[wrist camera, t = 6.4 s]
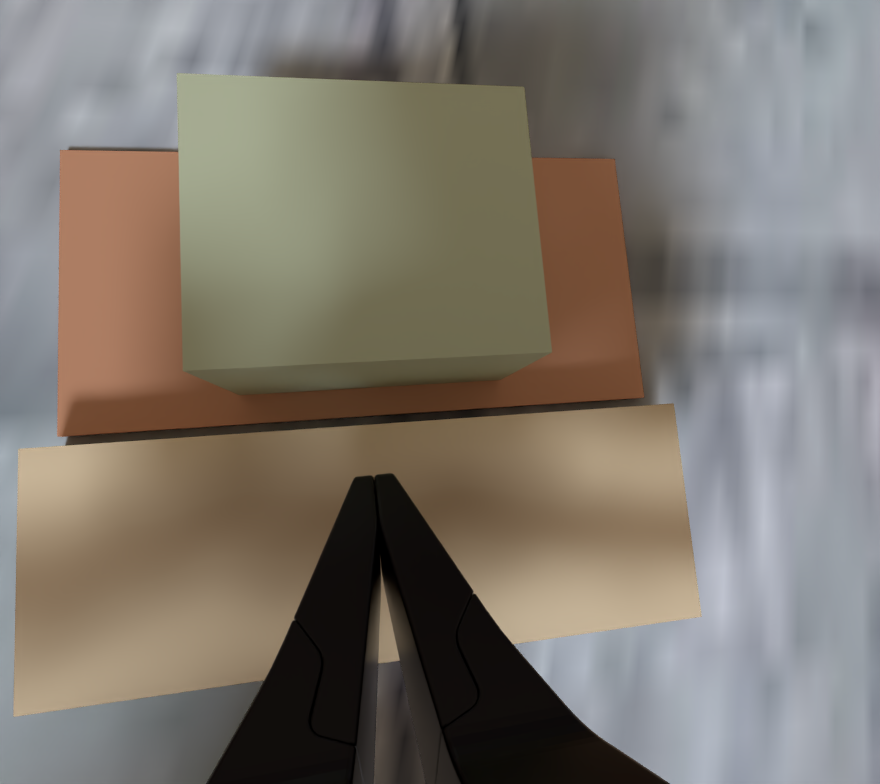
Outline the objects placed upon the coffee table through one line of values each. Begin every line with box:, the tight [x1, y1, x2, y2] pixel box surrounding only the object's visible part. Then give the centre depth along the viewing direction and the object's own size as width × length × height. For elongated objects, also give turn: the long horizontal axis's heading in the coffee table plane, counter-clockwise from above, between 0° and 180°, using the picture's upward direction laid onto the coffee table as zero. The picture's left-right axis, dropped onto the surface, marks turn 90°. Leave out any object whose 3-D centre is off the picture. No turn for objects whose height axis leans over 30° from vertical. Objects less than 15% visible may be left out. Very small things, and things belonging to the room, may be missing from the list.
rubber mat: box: [57, 150, 644, 437], centre depth 17 cm, size 10×20×1 cm, turn 94°
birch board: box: [13, 404, 702, 717], centre depth 16 cm, size 7×20×2 cm, turn 94°
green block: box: [177, 73, 552, 395], centre depth 15 cm, size 5×9×8 cm
